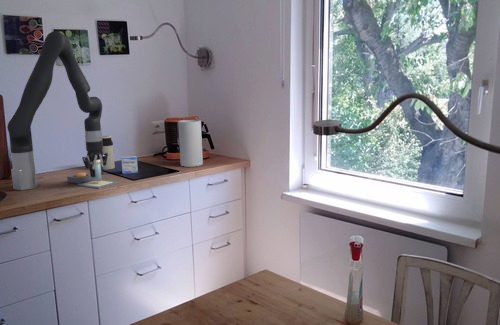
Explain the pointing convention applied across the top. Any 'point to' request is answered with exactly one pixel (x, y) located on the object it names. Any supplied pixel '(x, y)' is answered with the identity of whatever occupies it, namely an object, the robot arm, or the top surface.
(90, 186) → the picture board
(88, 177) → the button housing
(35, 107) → the robot arm
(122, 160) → the medicine box
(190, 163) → the cylinder vase
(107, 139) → the travel mug
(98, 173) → the teal bottle
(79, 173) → the button
